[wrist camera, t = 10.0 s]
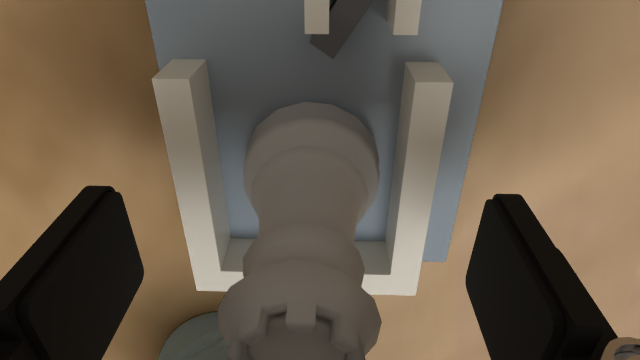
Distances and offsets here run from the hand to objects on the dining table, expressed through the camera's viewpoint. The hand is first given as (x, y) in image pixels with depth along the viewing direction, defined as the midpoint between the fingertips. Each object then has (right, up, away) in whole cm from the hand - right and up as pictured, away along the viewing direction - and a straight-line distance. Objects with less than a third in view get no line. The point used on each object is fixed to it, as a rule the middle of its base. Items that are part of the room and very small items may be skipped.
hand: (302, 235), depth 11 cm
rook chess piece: (0, +2, +4) cm, 4 cm away
